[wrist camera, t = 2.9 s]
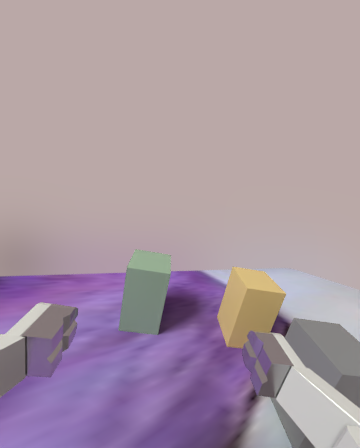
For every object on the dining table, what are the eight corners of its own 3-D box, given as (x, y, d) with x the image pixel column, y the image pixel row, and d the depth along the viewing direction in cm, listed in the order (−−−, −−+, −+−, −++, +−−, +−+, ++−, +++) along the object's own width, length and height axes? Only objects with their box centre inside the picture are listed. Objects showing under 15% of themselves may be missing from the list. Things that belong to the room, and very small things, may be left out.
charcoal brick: (264, 383, 19) (293, 318, 17) (305, 387, 20) (339, 324, 17) (295, 453, 14) (342, 374, 12) (348, 455, 15) (403, 380, 13)
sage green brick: (128, 302, 27) (135, 249, 24) (160, 306, 27) (170, 255, 25) (118, 330, 22) (127, 267, 20) (157, 334, 22) (170, 274, 20)
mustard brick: (217, 316, 28) (232, 266, 25) (246, 320, 28) (264, 271, 26) (226, 346, 23) (247, 288, 20) (262, 350, 23) (286, 293, 21)
